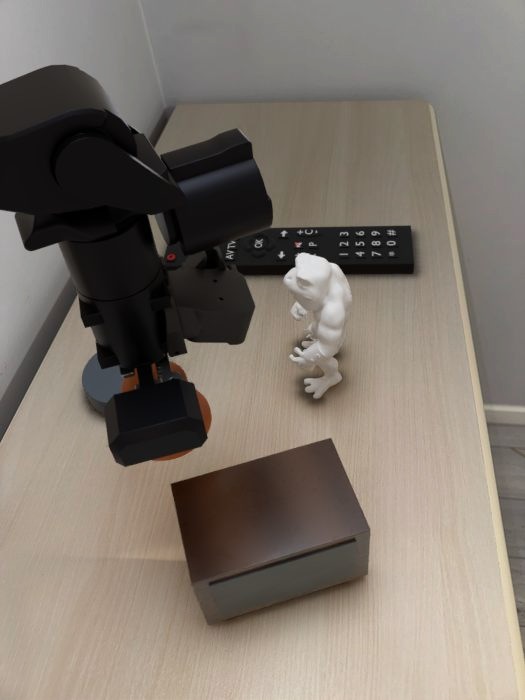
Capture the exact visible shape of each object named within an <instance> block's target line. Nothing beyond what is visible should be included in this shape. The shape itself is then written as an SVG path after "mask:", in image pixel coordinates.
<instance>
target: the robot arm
mask: <svg viewBox="0 0 525 700" xmlns="http://www.w3.org/2000/svg"><path fill="white" fill-rule="evenodd" d="M273 207H274V206H273V201H272V198H271V197H270V195H269V194H268V192H267V188H266V183H265V181H264V178H263V176H262V173H261V170H260V168H259V166H258V164H257V162H256V159H255V157H254V150H253V143H252V141H251V140H250V139H249V138H248V137H247V136H246V135H245V134H244V132H242V130H241V129H240V128H238V127H236V128H232V129H229V130H226V131H223V132H219V133H218V134H216V135H215V136H213V137H211V138H209V139H206V140H203V141H200V142H197V143H194V144H190V145H187V146H183V147H181V148H177V149H175V150H171V151H168V152H165V153H161V154H160V155H159V153H158V152H157V150H156V149H155V148H154V146H153V145H152V142H151V141H150V140H149V139H148V137H147V136H146V134H145V133H144V132H142V131H140V130H139V129H138V128H136V127H135V126H133V125H132V124H131V123H130V122H128V121H127V120H126V119H124V117H123V115H122V114H121V112H120V111H119V109H118V107H117V105H116V104H115V103H114V101H113V100H112V98H111V96H110V95H109V93H108V92H107V91H106V89H105V88H104V87H103V86H102V84H101V83H100V82H99V81H98V80H97V79H96V78H95V77H93V76H92V75H90V74H88V73H87V72H85V71H84V70H81V69H80V68H79V67H78V66H75V65H69V64H50V65H47V66H42V67H40V68H38V69H37V68H36V69H34V70H31V71H29V72H27V73H25V74H22V75H20V76H17V77H14V78H12V79H10V80H8V81H5V82H2V83H1V84H0V211H4V212H9V213H10V212H11V213H14V220H15V223H16V226H17V231H18V232H19V236H20V239H21V242H22V245H23V248H24V250H26V251H28V252H36V251H37V250H38V251H39V250H40V249H44V248H48V247H50V246H54V245H56V244H58V248H59V250H60V252H61V255H62V258H63V260H64V263H65V265H66V268H67V271H68V273H69V275H70V278H71V280H72V283H73V285H74V288H75V291H76V293H77V296H78V305H79V315H80V319H81V322H82V324H83V327H84V329H87V328H90V330H91V331H92V334H93V336H94V340H95V341H94V342H95V348H96V353H97V357H98V362H99V364H100V367H101V369H106V368H110V367H114V366H118V365H119V370H120V375H121V377H122V378H128V377H132V376H134V375H135V369H134V368H136V369H137V374H138V380H139V384H137V385H135V389H134V390H130V391H126V392H122V393H118V394H114V395H113V396H112V397H111V399H110V400H109V401H108V402H107V403H106V405H105V406H104V413H105V415H104V421H105V428H106V429H105V430H106V437H107V444H108V448H109V450H110V452H111V453H110V454H111V455H112V457H113V460H114V463H115V464H118V465H120V466H122V467H124V468H127V467H131V466H134V465H139V464H142V463H146V462H149V461H152V460H154V459H158V458H161V457H165V456H169V455H173V454H176V453H180V452H184V451H188V450H192V449H194V450H196V449H199V448H202V447H203V445H204V444H205V443H206V441H207V440H208V439H209V437H208V434H207V432H206V428H205V424H204V420H203V416H202V412H201V408H200V404H199V400H198V396H197V392H196V390H197V389H196V385H195V383H194V382H192V381H191V382H190V381H189V380H188V381H185V380H184V379H183V376H182V374H180V373H179V372H173V371H171V367H170V362H169V361H170V358H174V357H178V356H182V355H186V354H188V353H189V352H188V349H187V344H186V341H188V342H191V343H196V344H197V343H199V344H203V343H204V344H228V345H229V346H239V345H242V344H243V343H244V342H245V341H246V339H247V334H248V331H249V328H250V325H251V322H252V319H253V316H254V313H255V309H256V303H255V301H254V298H253V294H252V292H251V290H250V286H249V284H248V282H247V279H246V277H245V275H242V274H241V273H239V272H238V271H237V268H236V266H235V265H230V267H229V269H228V268H227V267H226V266H225V263H224V260H223V257H222V254H221V251H220V249H219V246H220V245H223V244H225V243H228V242H231V241H234V240H237V239H240V238H243V237H246V236H249V235H251V234H254V233H257V232H260V231H263V230H266V229H269V228H272V226H273V221H274V208H273ZM149 216H154V219H155V221H156V224H157V227H158V229H159V232H160V234H161V236H162V238H163V240H164V242H165V244H166V245H168V246H171V245H174V244H177V243H178V241H179V244H180V247H181V250H182V253H183V255H184V256H187V255H189V256H188V258H187V259H186V262H183V263H182V267H181V268H178V269H177V270H176V271H167V269H166V265H165V261H164V255H161V254H160V253H159V252H158V249H157V244H156V241H155V238H154V237H155V236H154V234H153V230H152V226H151V222H150V218H149ZM214 268H217V269H214ZM169 357H170V358H169ZM154 363H155V366H156V370H157V376H158V379H157V380H155V378H154V373H153V368H152V364H154ZM162 380H163V382H162ZM192 451H193V450H192Z"/></svg>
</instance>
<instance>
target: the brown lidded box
mask: <svg viewBox="0 0 525 700" xmlns="http://www.w3.org/2000/svg"><path fill="white" fill-rule="evenodd" d="M170 489H171V494H172V499H173V503H174V508H175V513H176V518H177V523H178V527H179V528H178V529H179V531H180V533H179V534H180V538H181V542H182V546H183V551H184V557H185V560H186V566H187V571H188V575H189V580H190V585H191V588H192V590H193V592H194V594H195V597H196V599H197V602H198V604H199V607H200V610H201V612H202V615H203V617H204V619H205V622H206V624H207V625H208V626H209V625H212V624H215V623H219V622H222V621H225V620H229V619H231V618H236V617H238V616H241V615H245V614H247V613H251V612H254V611H257V610H260V609H263V608H267V607H270V606H273V605H276V604H279V603H282V602H283V603H284V602H286V601H289V600H292V599H295V598H298V597H302V596H305V595H308V594H312V593H315V592H319V591H321V590H324V589H328V588H330V587H334V586H337V585H340V584H344V583H346V582H351V581H353V580H357V579H360V578H362V577H367V576H368V575H369V566H370V565H369V564H370V546H371V528H370V525H369V522H368V520H367V518H366V516H365V514H364V511H363V509H362V507H361V503H360V501H359V500H358V497H357V495H356V493H355V490H354V488H353V485H352V483H351V481H350V478H349V476H348V474H347V471H346V469H345V467H344V464H343V462H342V459H341V456H340V455H339V453H338V449H337V448H336V446H335V443H334V441H333V439H332V437H328V438H325V439H322V440H318V441H314V442H311V443H307V444H303V445H299V446H297V447H294V448H293V447H292V448H290V449H286V450H283V451H280V452H276V453H273V454H269V455H264V456H262V457H259V458H255V459H253V460H252V459H251V460H248V461H245V462H244V461H243V462H241V463H237V464H234V465H230V466H226V467H223V468H220V469H216V470H213V471H210V472H206V473H203V474H199V475H195V476H191V477H188V478H185V479H181V480H178V481H174V482H171V483H170Z"/></svg>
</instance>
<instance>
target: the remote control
mask: <svg viewBox="0 0 525 700" xmlns="http://www.w3.org/2000/svg"><path fill="white" fill-rule="evenodd" d="M166 245H167V244H166ZM219 249H220V251H221V254H222V257H223V260H224V263H225V266H226V267H227V268H228V269H229V267H230V265H235V266H236V268H237V271H238V272H239V273H241V274H242V275H243V276H257V275H258V276H260V275H261V276H263V275H264V276H267V275H269V276H270V275H271V276H272V275H274V276H275V275H277V276H278V275H280V276H281V275H282V276H283V275H284V276H285V275H286V274H287V273H288V272H289V271H290V270H291V269H293V268H295V267H296V264H295V259H296V257H297V256H298V255H299V254H300V253H307V254H310V255H314V256H318V257H322V258H325V259H326V260H327V261H328V262H329V263H334V264H336V265H338V266H339V268H340V269H341V270H342V272H343V274H344V275H393V274H395V275H397V274H398V275H399V274H400V275H401V274H402V275H403V274H404V275H405V274H406V275H407V274H411V275H412V274H414V268H415V256H414V247H413V235H412V225H409V224H408V225H359V226H357V225H355V226H353V225H352V226H351V225H349V226H304V227H303V226H302V227H301V226H299V227H298V226H296V227H295V226H294V227H270V228H269V229H266V230H263V231H260V232H257V233H254V234H251V235H249V236H246V237H243V238H240V239H237V240H234V241H231V242H228V243H225V244H223V245H220V246H219ZM188 256H189V255H187V256H184V255H183V253H182V250H181V247H180V244H179V241H178V243H177V244H174V245H171V246H168V245H167V246H166V249H165V252H164V255H163V257H164V261H165V265H166V269H167V271H176V270H177V269H178V268H181V267H182V263H183V262H186V259H187V258H188ZM214 269H217V268H214Z"/></svg>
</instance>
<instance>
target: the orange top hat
mask: <svg viewBox="0 0 525 700" xmlns="http://www.w3.org/2000/svg"><path fill="white" fill-rule="evenodd" d="M169 362H170V367H171V371H173V372H179V373H180V374H182V376H183V379H184V380H185V381H188V382H189V380H188V377H187V376H188V375H187V373H186V372H185V370H184V368H182V367H181V366H180V365H179V364H177V363H175V362H174V361H170V360H169ZM152 368H153V373H154V378H155V380H157V379H158V376H157V370H156V366H155V363H154V364H152ZM134 369H135V375H134V376H132V377H128V378H125V379H124V381H123V384H122V388H121V393H122V392H126V391H130V390H134V389H135V385H137V384H139V380H138V374H137V369H136V368H134ZM162 382H163V380H162ZM196 392H197V396H198V400H199V404H200V408H201V412H202V416H203V420H204V424H205V428H206V432H207V435H208V433H209V432H210V429H211V426H212V421H213V420H212V410H211V405H210V404H209V401H208V400H207V398H206V397H205V395H204V394H203V393H201V392H200V391H199V390H197V389H196ZM194 450H195V449H192V450H188V451H184V452H180V453H176V454H173V455H169V456H165V457H161V458H158V459H154V460H151V461H153V462H167V461H171V460H175V459H180V458H181V457H184V456H186V455H187V454H189V453H191V452H192V451H194Z"/></svg>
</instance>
